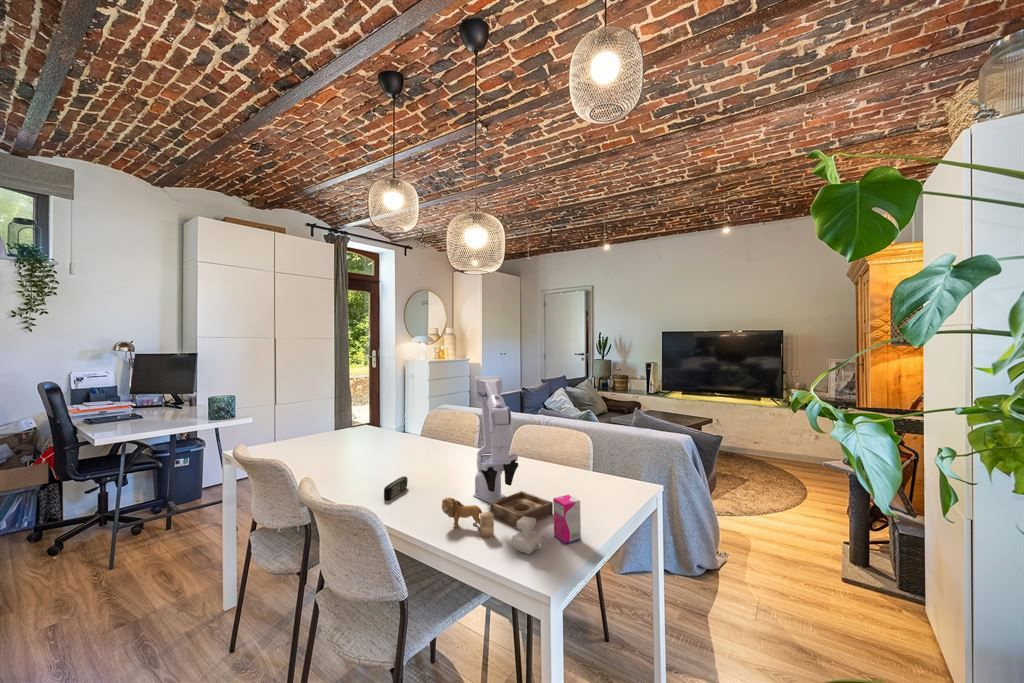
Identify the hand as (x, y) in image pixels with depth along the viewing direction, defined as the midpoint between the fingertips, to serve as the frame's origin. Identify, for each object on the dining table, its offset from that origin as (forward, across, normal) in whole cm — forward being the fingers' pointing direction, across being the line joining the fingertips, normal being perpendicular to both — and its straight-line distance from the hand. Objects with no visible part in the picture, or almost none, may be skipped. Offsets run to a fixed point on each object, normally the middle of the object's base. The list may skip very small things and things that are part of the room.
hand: (500, 487), depth 131 cm
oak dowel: (+10, -10, -5) cm, 15 cm away
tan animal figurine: (+10, -12, +4) cm, 16 cm away
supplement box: (+10, +5, -23) cm, 26 cm away
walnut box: (+10, +7, -3) cm, 12 cm away
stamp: (+10, -8, -19) cm, 23 cm away
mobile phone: (+10, -12, +43) cm, 46 cm away
